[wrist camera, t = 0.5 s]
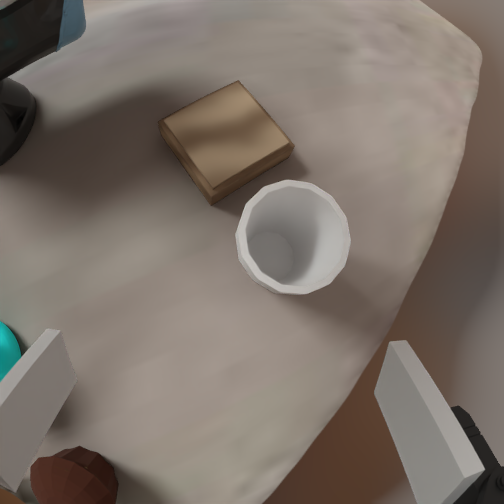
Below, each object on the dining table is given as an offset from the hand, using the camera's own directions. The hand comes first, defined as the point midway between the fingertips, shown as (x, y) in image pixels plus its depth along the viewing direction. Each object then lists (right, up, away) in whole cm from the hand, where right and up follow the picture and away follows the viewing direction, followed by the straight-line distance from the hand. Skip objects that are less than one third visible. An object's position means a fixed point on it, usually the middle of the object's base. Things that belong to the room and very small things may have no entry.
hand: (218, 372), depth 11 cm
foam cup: (+3, +4, +27) cm, 28 cm away
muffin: (-21, -25, +19) cm, 38 cm away
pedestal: (-2, +18, +28) cm, 34 cm away
